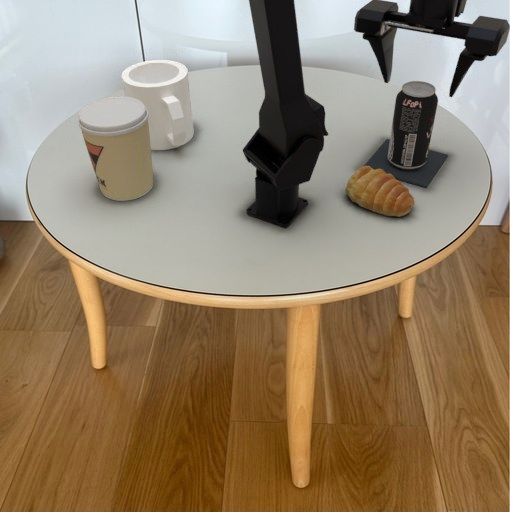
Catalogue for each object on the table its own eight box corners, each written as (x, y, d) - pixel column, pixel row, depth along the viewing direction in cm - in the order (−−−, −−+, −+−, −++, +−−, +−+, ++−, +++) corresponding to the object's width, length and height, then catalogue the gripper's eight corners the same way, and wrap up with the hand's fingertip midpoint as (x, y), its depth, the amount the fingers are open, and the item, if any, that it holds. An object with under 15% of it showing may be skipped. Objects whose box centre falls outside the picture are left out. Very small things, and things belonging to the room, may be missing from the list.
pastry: (423, 205, 79) (427, 182, 76) (394, 227, 76) (398, 204, 73) (368, 179, 84) (370, 156, 82) (338, 198, 81) (340, 176, 78)
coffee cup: (92, 175, 87) (73, 101, 79) (153, 164, 89) (141, 90, 81) (98, 210, 80) (79, 132, 72) (164, 197, 82) (153, 120, 74)
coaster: (426, 188, 82) (426, 186, 82) (361, 169, 86) (361, 167, 86) (447, 156, 88) (448, 154, 88) (386, 140, 92) (386, 138, 92)
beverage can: (412, 149, 90) (425, 75, 82) (433, 167, 85) (449, 92, 78) (379, 157, 88) (389, 82, 80) (399, 176, 84) (412, 99, 76)
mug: (214, 147, 92) (209, 84, 85) (155, 166, 88) (145, 101, 81) (178, 114, 101) (170, 54, 94) (123, 130, 97) (111, 69, 90)
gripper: (535, -41, 71) (502, 80, 81) (391, -57, 78) (377, 56, 88) (513, -16, 63) (480, 113, 74) (358, -37, 71) (347, 83, 81)
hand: (418, 88), depth 79 cm, fingers open, 9 cm apart
